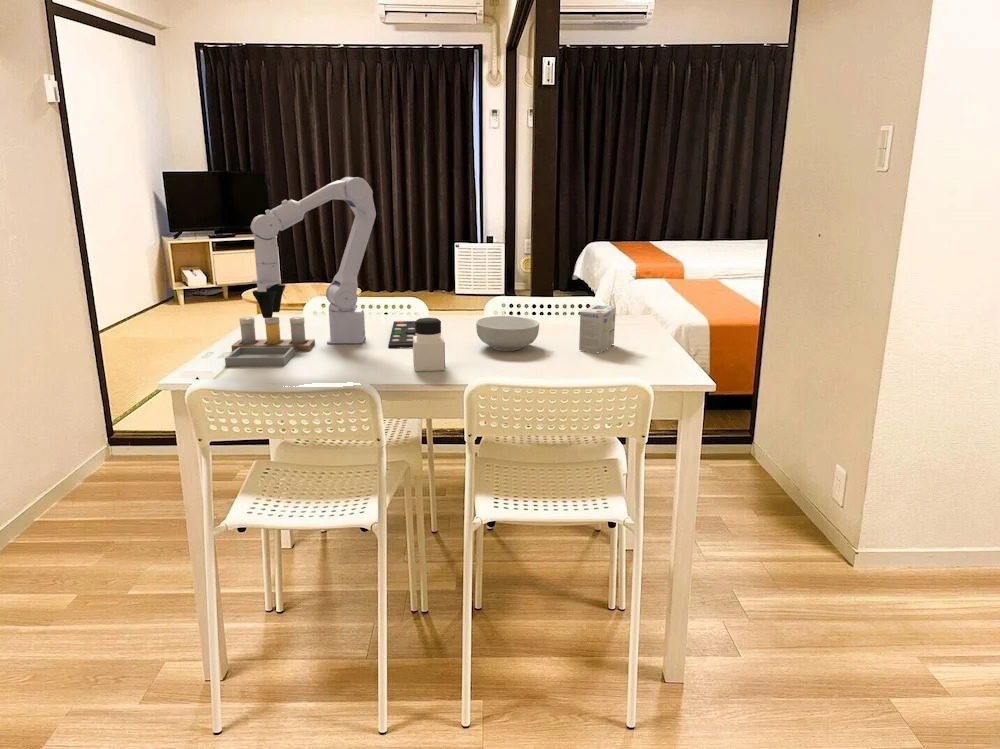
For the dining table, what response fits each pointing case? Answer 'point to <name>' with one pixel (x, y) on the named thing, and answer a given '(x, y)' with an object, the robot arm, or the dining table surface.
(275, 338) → the amber fuse
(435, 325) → the medicine bottle
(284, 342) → the brown wooden rack
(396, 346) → the remote control
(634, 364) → the dining table surface
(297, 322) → the cylinder
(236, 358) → the tray
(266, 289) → the robot arm
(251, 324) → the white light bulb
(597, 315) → the light bulb box
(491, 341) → the cereal bowl
